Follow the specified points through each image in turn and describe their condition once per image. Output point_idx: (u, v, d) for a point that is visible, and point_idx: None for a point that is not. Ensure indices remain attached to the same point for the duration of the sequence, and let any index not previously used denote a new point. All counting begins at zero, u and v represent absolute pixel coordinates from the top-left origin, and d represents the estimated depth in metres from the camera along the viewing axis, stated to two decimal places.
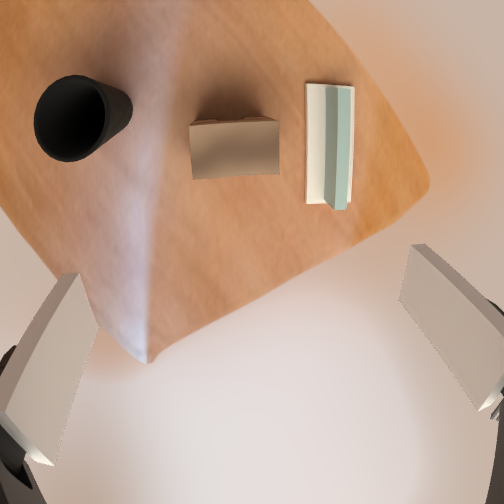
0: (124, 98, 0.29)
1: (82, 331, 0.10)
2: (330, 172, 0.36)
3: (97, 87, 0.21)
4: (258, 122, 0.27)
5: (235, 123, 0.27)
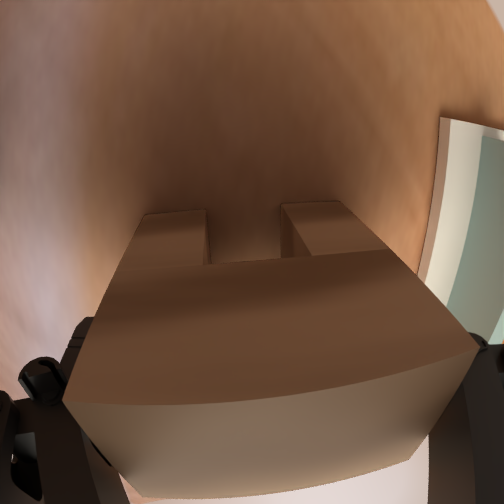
0: None
1: None
2: None
3: None
4: (409, 371, 0.05)
5: (301, 394, 0.05)
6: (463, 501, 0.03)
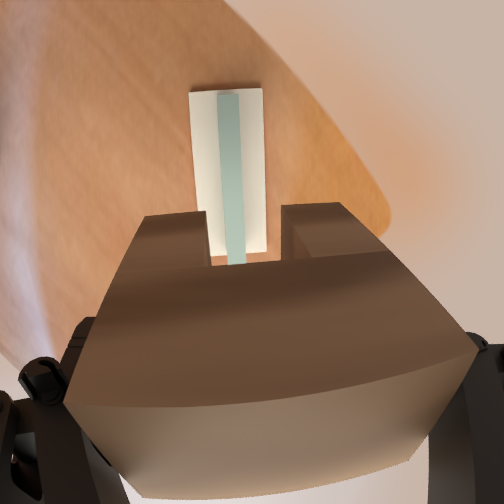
0: None
1: None
2: None
3: None
4: (409, 373, 0.05)
5: (301, 396, 0.05)
6: (462, 501, 0.03)
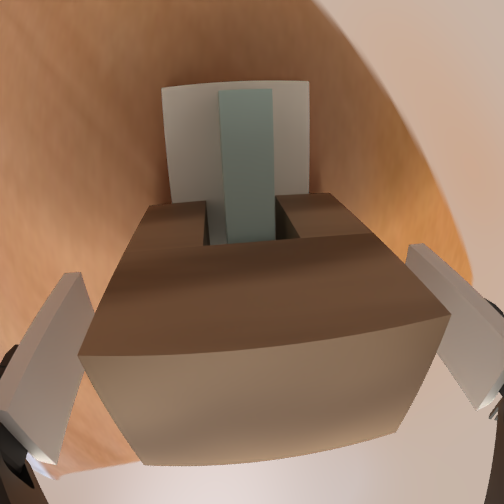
0: None
1: (84, 330, 0.10)
2: None
3: None
4: (384, 331, 0.06)
5: (287, 346, 0.06)
6: None
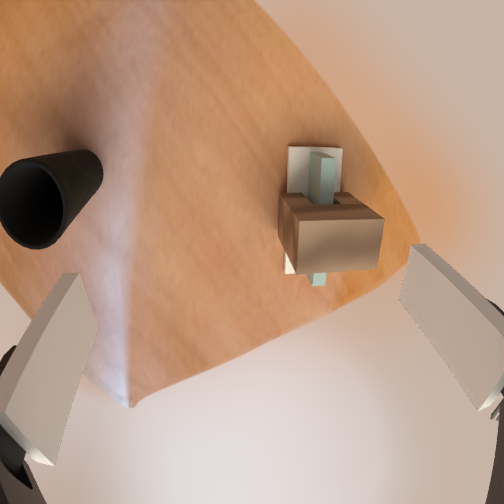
0: (91, 167, 0.28)
1: (82, 331, 0.10)
2: None
3: (52, 175, 0.20)
4: (366, 220, 0.27)
5: (345, 220, 0.27)
6: None
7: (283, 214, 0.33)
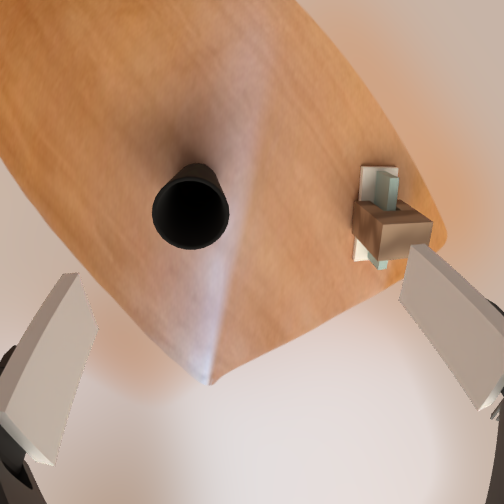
0: (217, 180, 0.38)
1: (82, 331, 0.10)
2: None
3: (218, 191, 0.30)
4: (422, 223, 0.37)
5: (410, 223, 0.37)
6: None
7: (360, 217, 0.43)
